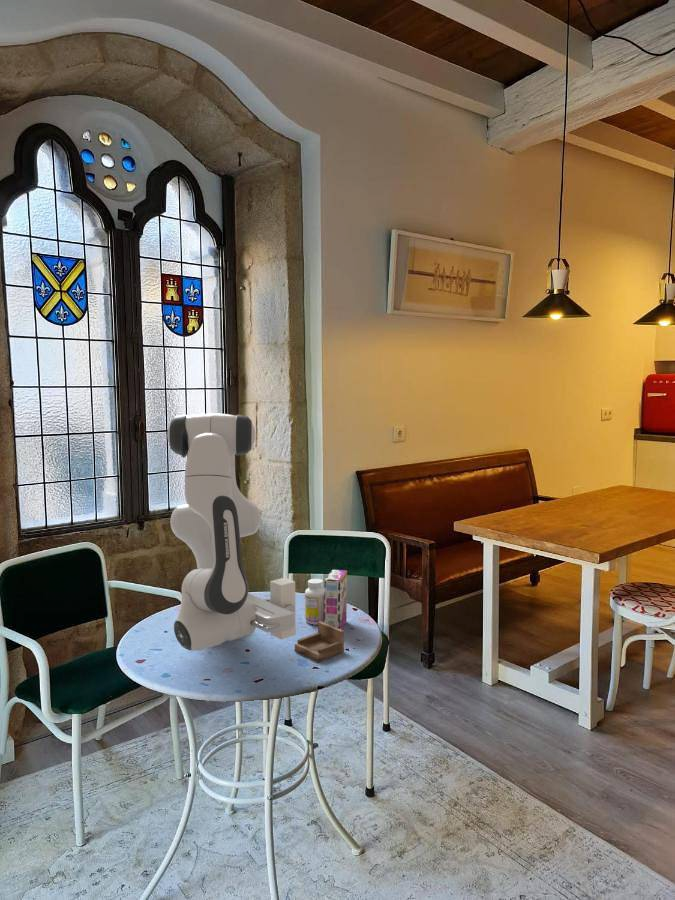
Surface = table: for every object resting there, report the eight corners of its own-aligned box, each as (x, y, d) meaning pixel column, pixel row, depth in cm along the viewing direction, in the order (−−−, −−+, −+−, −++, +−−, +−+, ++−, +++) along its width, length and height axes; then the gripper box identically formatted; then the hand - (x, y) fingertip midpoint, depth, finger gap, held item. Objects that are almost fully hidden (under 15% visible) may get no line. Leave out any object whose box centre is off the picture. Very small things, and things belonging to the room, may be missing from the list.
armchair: (294, 651, 173) (294, 630, 173) (320, 641, 180) (320, 621, 179) (317, 662, 167) (317, 640, 166) (343, 651, 173) (343, 630, 172)
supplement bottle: (321, 616, 200) (321, 576, 199) (330, 623, 194) (330, 582, 193) (301, 619, 197) (301, 579, 196) (310, 626, 191) (310, 585, 190)
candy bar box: (340, 635, 184) (340, 580, 183) (323, 634, 185) (323, 579, 184) (347, 621, 195) (347, 569, 194) (331, 620, 196) (331, 568, 195)
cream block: (270, 634, 162) (270, 581, 161) (286, 629, 166) (285, 577, 164) (281, 639, 159) (281, 585, 157) (297, 634, 162) (296, 581, 161)
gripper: (265, 617, 145) (312, 602, 154) (217, 595, 160) (262, 583, 169) (266, 643, 145) (312, 628, 155) (218, 619, 160) (262, 606, 170)
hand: (285, 604), depth 162 cm, fingers closed on cream block, 4 cm apart
